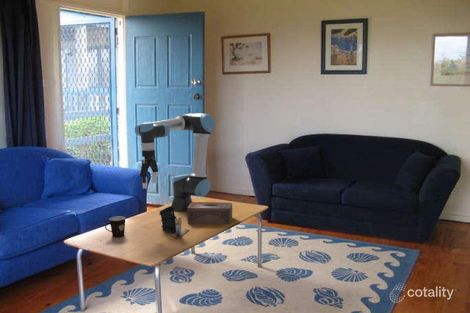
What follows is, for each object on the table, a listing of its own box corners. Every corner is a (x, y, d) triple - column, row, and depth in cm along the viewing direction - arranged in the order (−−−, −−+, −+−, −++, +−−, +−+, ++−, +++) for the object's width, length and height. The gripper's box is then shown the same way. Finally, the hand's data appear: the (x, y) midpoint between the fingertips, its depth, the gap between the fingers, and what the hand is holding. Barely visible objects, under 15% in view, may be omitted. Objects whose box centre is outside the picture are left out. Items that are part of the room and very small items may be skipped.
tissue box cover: (187, 223, 289) (187, 207, 287) (192, 217, 303) (191, 202, 301) (229, 224, 286) (229, 208, 285) (232, 218, 300) (232, 202, 299)
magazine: (174, 232, 266) (167, 206, 269) (163, 237, 276) (157, 212, 279) (180, 231, 268) (173, 205, 271) (169, 235, 278) (162, 211, 281)
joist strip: (185, 229, 276) (185, 229, 276) (189, 230, 275) (189, 229, 275) (174, 238, 261) (174, 237, 261) (178, 238, 260) (178, 238, 260)
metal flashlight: (177, 234, 266) (176, 217, 264) (182, 235, 265) (182, 217, 263) (174, 236, 262) (174, 219, 261) (180, 237, 261) (180, 219, 260)
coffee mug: (125, 232, 272) (124, 215, 271) (127, 237, 264) (126, 219, 263) (104, 235, 268) (103, 217, 267) (105, 239, 260) (104, 221, 259)
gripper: (150, 146, 287) (152, 180, 291) (132, 152, 263) (134, 190, 267) (162, 146, 285) (164, 181, 289) (145, 153, 262) (147, 190, 265)
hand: (150, 185), depth 278 cm, fingers open, 13 cm apart
